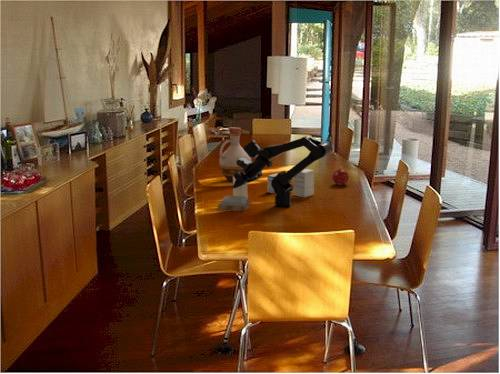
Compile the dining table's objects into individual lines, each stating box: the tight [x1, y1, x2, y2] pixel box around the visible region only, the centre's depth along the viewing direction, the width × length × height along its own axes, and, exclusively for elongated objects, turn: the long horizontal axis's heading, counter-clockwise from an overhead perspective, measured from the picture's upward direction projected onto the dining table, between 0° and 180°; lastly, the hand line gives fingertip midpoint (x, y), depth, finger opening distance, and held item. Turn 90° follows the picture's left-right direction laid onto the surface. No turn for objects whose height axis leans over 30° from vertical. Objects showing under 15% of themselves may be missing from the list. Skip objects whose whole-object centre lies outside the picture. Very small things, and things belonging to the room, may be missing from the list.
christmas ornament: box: [332, 166, 350, 186], centre depth 285 cm, size 9×9×10 cm
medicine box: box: [267, 172, 279, 194], centre depth 273 cm, size 8×4×9 cm, turn 141°
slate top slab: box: [220, 195, 248, 206], centre depth 246 cm, size 10×10×2 cm
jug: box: [218, 126, 253, 184], centre depth 293 cm, size 20×18×30 cm
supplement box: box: [293, 168, 315, 198], centre depth 264 cm, size 7×7×13 cm
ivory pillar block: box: [232, 176, 248, 200], centre depth 257 cm, size 5×5×12 cm
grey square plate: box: [217, 199, 251, 212], centre depth 246 cm, size 12×12×2 cm
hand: (237, 186), depth 257 cm, fingers open, 8 cm apart
